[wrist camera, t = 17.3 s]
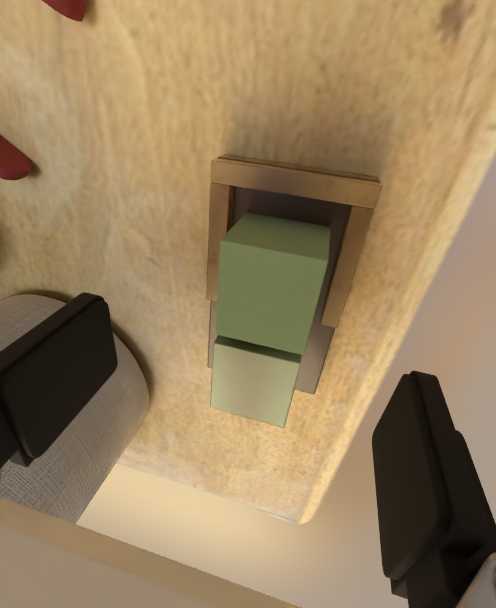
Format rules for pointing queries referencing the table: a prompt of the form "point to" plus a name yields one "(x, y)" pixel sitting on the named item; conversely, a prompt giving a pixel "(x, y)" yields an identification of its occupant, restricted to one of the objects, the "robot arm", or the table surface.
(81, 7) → the pliers
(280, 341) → the block
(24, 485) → the planter
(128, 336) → the table surface
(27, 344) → the robot arm
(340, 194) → the brown wooden rectangular tray
